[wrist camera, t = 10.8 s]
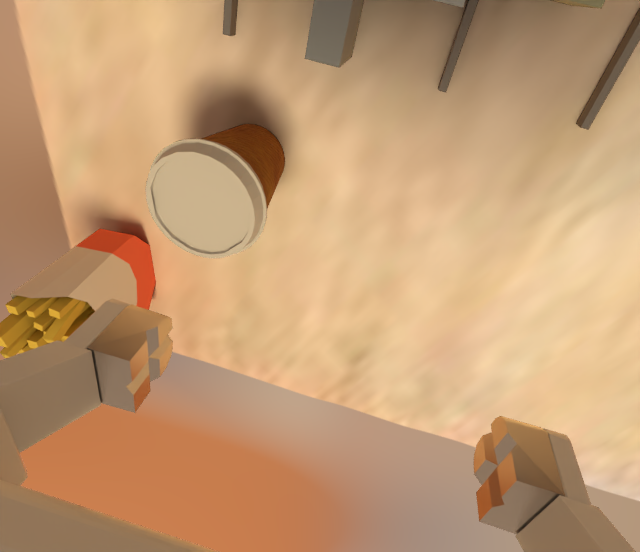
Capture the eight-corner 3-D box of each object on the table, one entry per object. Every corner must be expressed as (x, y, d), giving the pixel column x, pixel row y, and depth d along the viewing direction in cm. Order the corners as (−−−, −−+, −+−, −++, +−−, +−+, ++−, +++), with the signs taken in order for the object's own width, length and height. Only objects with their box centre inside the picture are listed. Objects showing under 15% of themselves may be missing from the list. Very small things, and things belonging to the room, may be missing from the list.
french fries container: (149, 225, 48) (28, 327, 34) (161, 299, 54) (63, 413, 40) (112, 218, 49) (-22, 316, 34) (128, 293, 55) (20, 402, 40)
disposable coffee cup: (232, 83, 37) (163, 115, 28) (320, 147, 39) (284, 199, 29) (193, 166, 43) (124, 217, 33) (271, 219, 44) (228, 284, 35)
